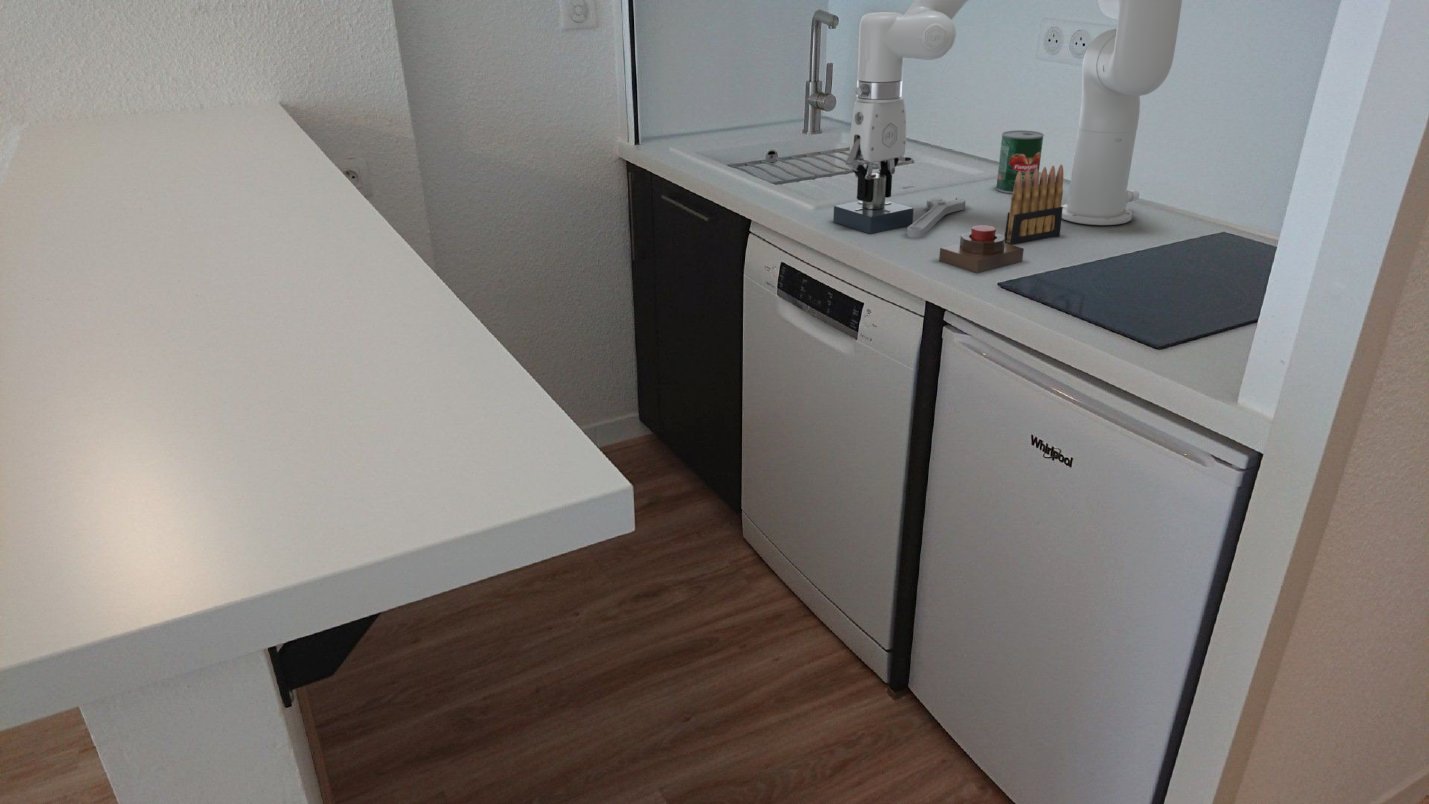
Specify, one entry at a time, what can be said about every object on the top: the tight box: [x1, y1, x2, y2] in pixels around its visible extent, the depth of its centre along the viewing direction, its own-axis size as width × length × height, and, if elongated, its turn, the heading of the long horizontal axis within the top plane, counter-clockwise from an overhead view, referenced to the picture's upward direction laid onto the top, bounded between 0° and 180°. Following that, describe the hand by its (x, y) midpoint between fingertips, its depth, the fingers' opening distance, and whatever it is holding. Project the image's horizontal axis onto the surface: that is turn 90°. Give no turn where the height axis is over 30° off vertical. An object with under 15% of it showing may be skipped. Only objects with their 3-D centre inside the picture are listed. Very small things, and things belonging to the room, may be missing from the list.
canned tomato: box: [995, 129, 1045, 195], centre depth 190 cm, size 8×8×11 cm
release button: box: [970, 224, 997, 241], centre depth 147 cm, size 4×4×2 cm
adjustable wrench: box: [906, 196, 966, 239], centre depth 172 cm, size 25×6×2 cm, turn 148°
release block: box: [938, 231, 1025, 274], centre depth 148 cm, size 10×8×4 cm
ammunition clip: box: [1003, 164, 1064, 246], centre depth 157 cm, size 11×2×12 cm, turn 116°
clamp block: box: [833, 199, 915, 235], centre depth 170 cm, size 10×10×3 cm
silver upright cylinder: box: [862, 172, 886, 209], centre depth 169 cm, size 4×4×6 cm
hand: (874, 197), depth 169 cm, fingers closed on silver upright cylinder, 4 cm apart
